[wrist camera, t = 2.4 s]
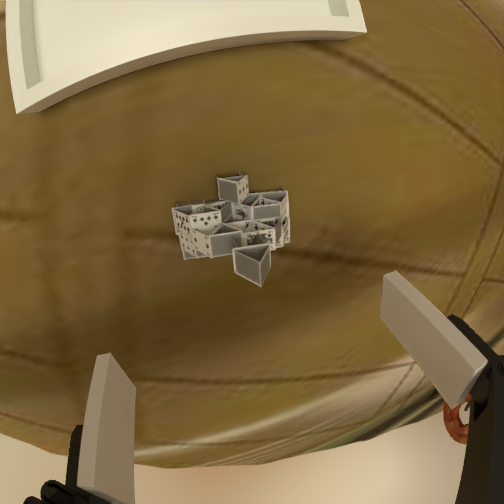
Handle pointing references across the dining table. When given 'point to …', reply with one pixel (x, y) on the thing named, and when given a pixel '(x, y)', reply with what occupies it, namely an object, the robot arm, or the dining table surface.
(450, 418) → the mug
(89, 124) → the dining table surface
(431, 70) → the dining table surface
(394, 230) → the dining table surface
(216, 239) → the house of cards
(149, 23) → the tray
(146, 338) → the dining table surface
